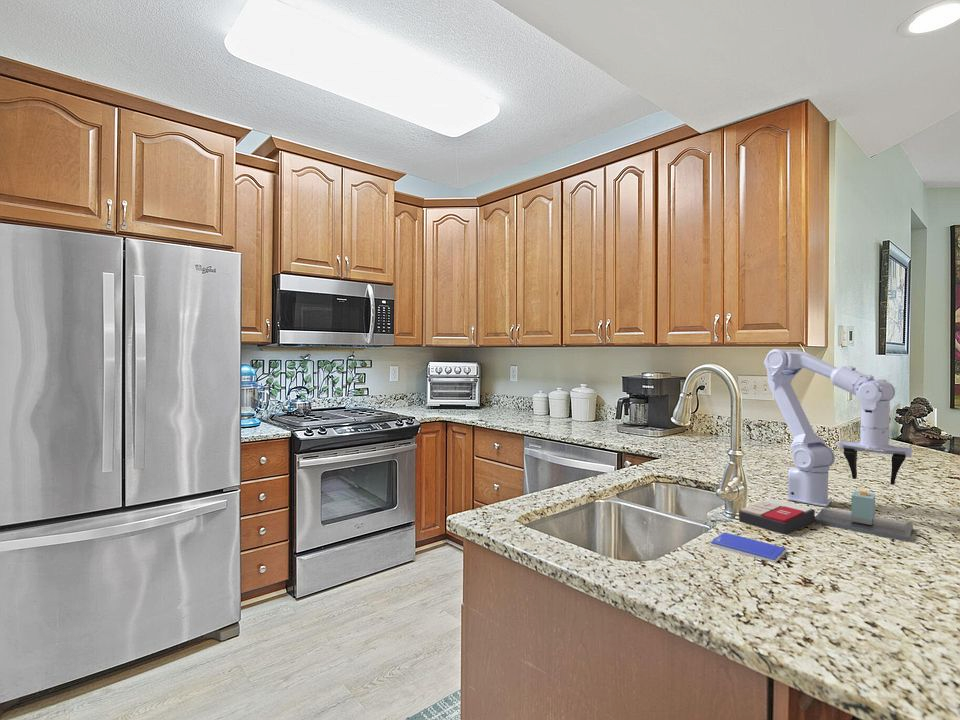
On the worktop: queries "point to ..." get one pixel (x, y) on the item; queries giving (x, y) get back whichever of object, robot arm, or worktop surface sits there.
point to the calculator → (777, 516)
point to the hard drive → (749, 547)
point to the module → (863, 507)
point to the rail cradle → (878, 527)
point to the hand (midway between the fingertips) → (873, 481)
